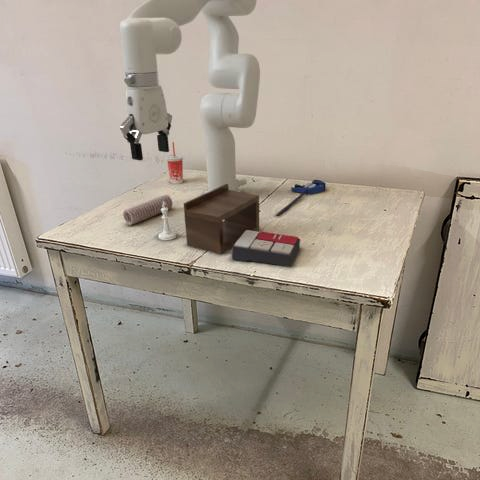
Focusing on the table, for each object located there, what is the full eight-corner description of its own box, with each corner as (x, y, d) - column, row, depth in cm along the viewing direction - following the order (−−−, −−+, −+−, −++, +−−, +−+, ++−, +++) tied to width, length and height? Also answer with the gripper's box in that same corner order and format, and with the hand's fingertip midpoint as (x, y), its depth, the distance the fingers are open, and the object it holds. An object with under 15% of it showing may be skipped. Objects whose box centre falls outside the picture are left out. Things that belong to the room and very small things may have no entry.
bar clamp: (301, 177, 171) (328, 180, 166) (301, 183, 172) (328, 187, 168) (260, 208, 148) (290, 213, 144) (260, 216, 149) (290, 221, 145)
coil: (131, 213, 138) (174, 196, 150) (120, 208, 141) (163, 192, 153) (132, 228, 141) (174, 210, 153) (121, 223, 143) (164, 206, 155)
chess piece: (179, 234, 136) (176, 199, 130) (171, 241, 132) (167, 205, 126) (163, 232, 137) (159, 198, 132) (155, 239, 133) (151, 203, 128)
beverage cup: (184, 184, 176) (181, 144, 168) (167, 184, 176) (163, 144, 168) (185, 179, 181) (182, 140, 173) (169, 179, 181) (165, 140, 173)
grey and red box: (291, 253, 115) (231, 243, 118) (290, 269, 117) (231, 259, 121) (300, 235, 123) (244, 227, 127) (299, 251, 126) (244, 242, 129)
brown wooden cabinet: (227, 222, 142) (226, 183, 136) (259, 229, 137) (259, 189, 131) (187, 245, 129) (183, 203, 123) (220, 254, 124) (218, 210, 118)
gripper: (127, 85, 106) (137, 165, 115) (178, 77, 118) (184, 150, 127) (103, 84, 110) (115, 161, 119) (155, 76, 122) (162, 147, 131)
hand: (151, 155), depth 123 cm, fingers open, 9 cm apart
